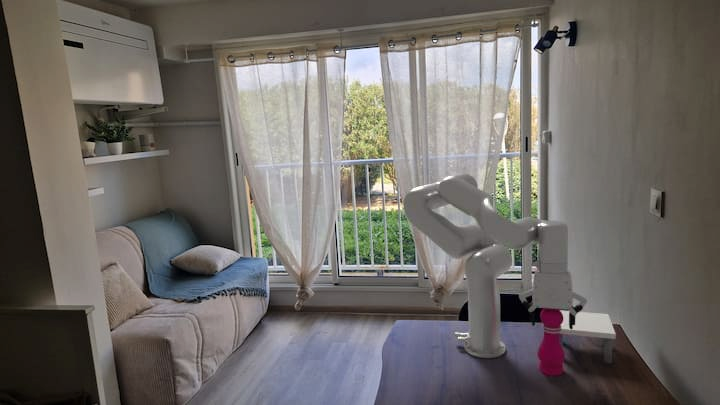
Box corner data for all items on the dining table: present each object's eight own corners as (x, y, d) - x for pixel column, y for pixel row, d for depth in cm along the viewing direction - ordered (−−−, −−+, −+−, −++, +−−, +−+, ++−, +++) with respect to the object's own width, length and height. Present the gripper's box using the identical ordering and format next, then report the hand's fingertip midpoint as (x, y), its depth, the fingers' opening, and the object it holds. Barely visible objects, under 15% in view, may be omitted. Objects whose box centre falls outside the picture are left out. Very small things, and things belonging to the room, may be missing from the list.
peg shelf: (553, 358, 136) (554, 328, 135) (551, 337, 149) (552, 309, 148) (614, 365, 131) (615, 334, 129) (607, 342, 144) (608, 314, 142)
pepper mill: (567, 377, 126) (569, 308, 123) (539, 376, 127) (540, 307, 124) (561, 364, 133) (562, 298, 130) (535, 362, 134) (535, 297, 131)
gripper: (518, 268, 125) (518, 328, 127) (589, 272, 119) (587, 334, 121) (519, 260, 132) (519, 317, 134) (586, 263, 126) (584, 322, 128)
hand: (551, 325), depth 128 cm, fingers open, 9 cm apart
